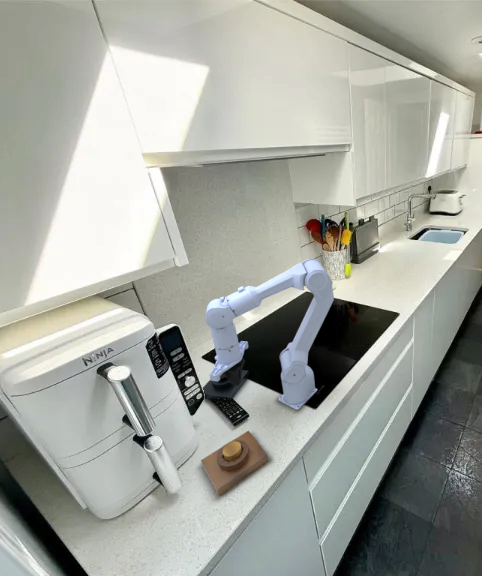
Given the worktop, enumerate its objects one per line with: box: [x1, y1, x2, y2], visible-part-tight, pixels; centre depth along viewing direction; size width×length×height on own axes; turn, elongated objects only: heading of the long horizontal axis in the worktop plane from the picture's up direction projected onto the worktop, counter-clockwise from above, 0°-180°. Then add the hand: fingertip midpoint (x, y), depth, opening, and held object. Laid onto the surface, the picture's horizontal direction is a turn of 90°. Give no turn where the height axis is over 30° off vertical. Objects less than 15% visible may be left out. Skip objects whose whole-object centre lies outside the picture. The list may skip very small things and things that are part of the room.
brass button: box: [223, 441, 242, 461], centre depth 73 cm, size 4×4×2 cm
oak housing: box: [200, 430, 269, 497], centre depth 75 cm, size 12×10×4 cm
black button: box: [218, 374, 228, 382], centre depth 97 cm, size 4×4×2 cm
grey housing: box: [202, 369, 250, 403], centre depth 98 cm, size 12×10×4 cm
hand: (236, 383), depth 86 cm, fingers closed
